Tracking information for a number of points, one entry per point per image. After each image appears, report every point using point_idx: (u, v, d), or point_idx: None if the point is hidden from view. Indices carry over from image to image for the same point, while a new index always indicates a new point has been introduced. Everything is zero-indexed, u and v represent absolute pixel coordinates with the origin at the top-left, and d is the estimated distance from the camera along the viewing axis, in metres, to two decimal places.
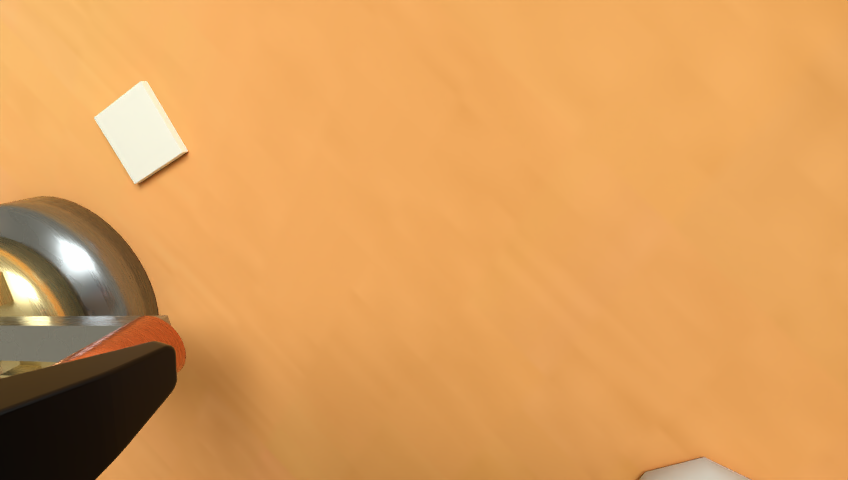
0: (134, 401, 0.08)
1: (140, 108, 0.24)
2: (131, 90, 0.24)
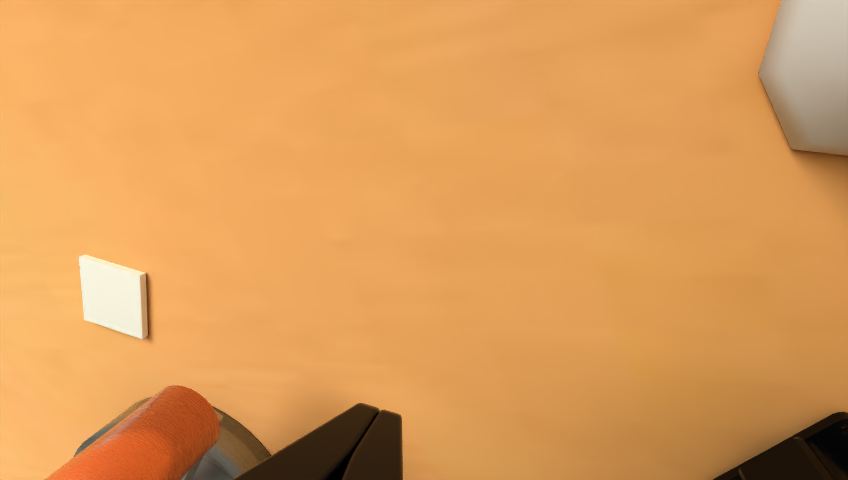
0: None
1: (95, 277, 0.25)
2: (81, 270, 0.25)
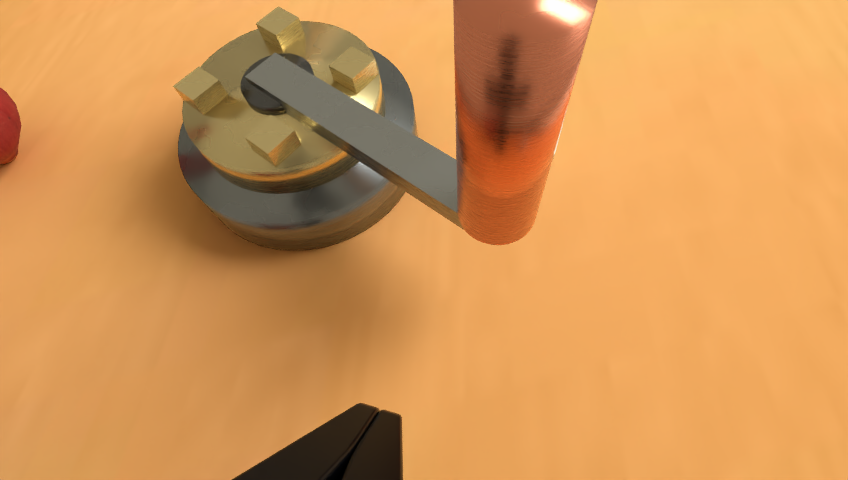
0: None
1: None
2: None
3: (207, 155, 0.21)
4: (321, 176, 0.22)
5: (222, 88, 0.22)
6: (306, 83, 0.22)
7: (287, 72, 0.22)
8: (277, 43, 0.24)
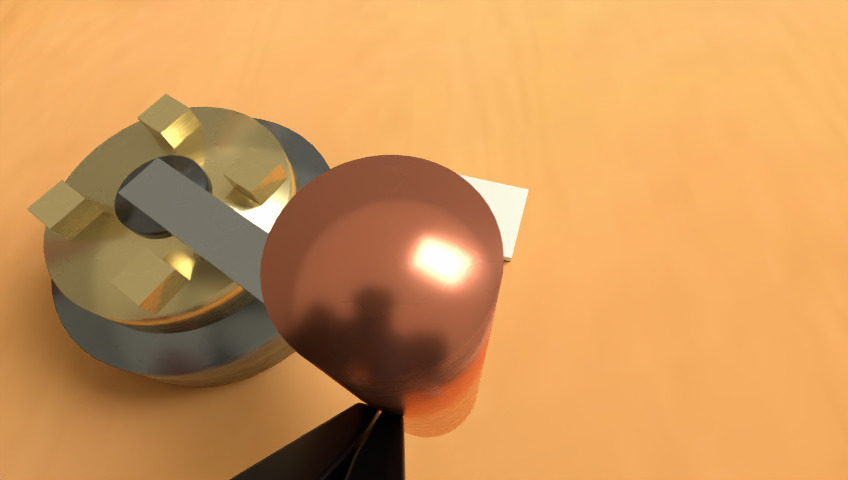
0: None
1: (505, 201, 0.23)
2: (512, 187, 0.23)
3: (70, 299, 0.17)
4: (221, 312, 0.18)
5: (92, 206, 0.18)
6: (193, 200, 0.17)
7: (171, 185, 0.18)
8: (165, 140, 0.20)
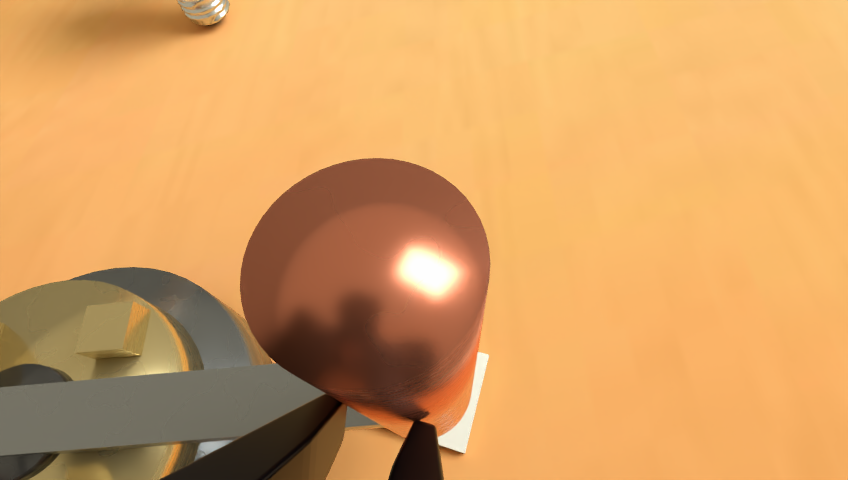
0: (320, 464, 0.08)
1: None
2: None
3: None
4: None
5: None
6: (59, 401, 0.14)
7: (18, 405, 0.14)
8: None
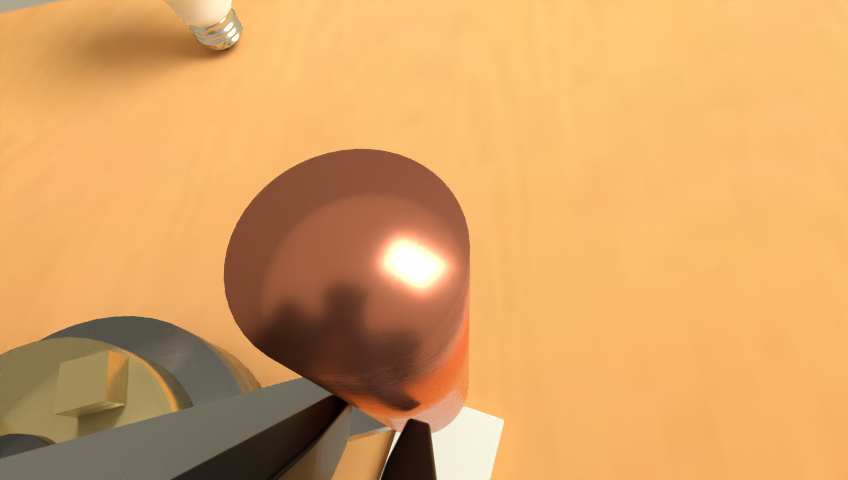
0: (325, 466, 0.08)
1: (474, 437, 0.18)
2: (484, 415, 0.18)
3: None
4: None
5: None
6: (45, 466, 0.13)
7: (0, 479, 0.13)
8: None
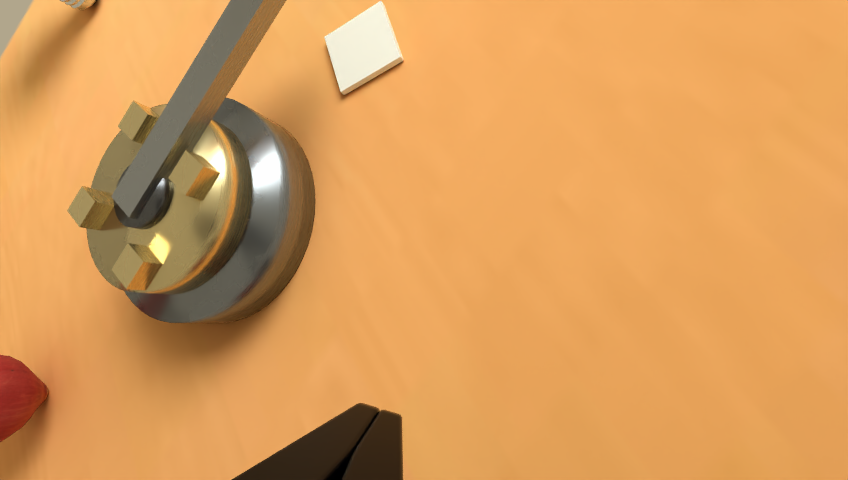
0: None
1: (371, 23, 0.26)
2: (369, 9, 0.26)
3: (201, 246, 0.22)
4: (238, 151, 0.24)
5: (138, 245, 0.23)
6: (145, 154, 0.23)
7: (132, 176, 0.23)
8: (104, 208, 0.24)
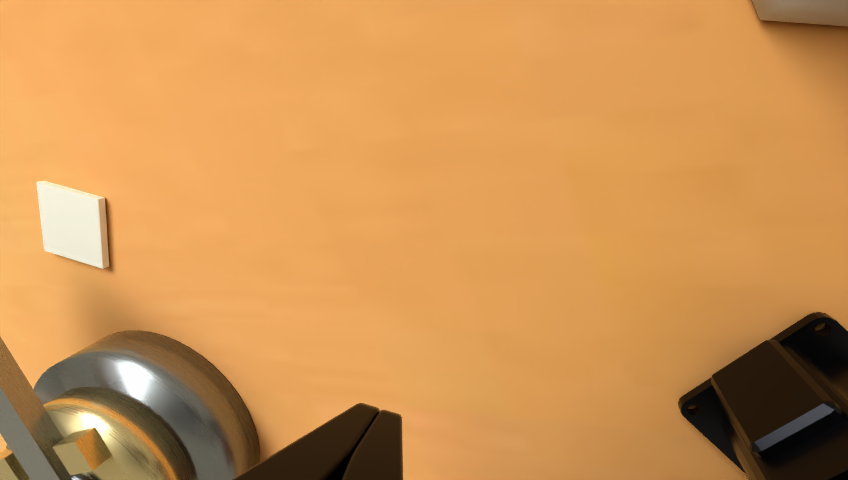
0: None
1: (53, 203, 0.24)
2: (39, 196, 0.25)
3: (151, 479, 0.21)
4: (93, 395, 0.23)
5: None
6: None
7: None
8: None
